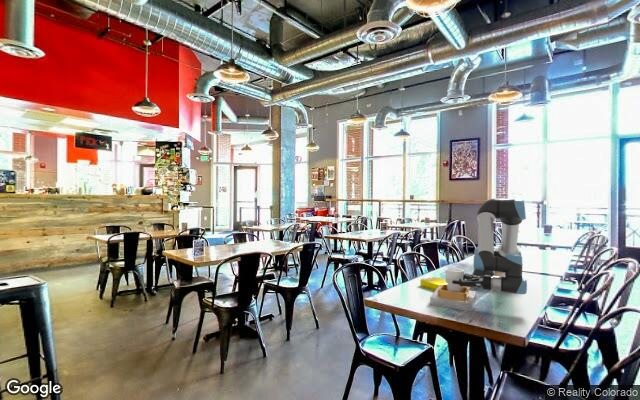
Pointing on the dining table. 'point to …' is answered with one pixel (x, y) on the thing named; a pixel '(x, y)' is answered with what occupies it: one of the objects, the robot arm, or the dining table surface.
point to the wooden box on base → (453, 298)
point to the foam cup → (454, 274)
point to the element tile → (432, 283)
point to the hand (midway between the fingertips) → (448, 277)
